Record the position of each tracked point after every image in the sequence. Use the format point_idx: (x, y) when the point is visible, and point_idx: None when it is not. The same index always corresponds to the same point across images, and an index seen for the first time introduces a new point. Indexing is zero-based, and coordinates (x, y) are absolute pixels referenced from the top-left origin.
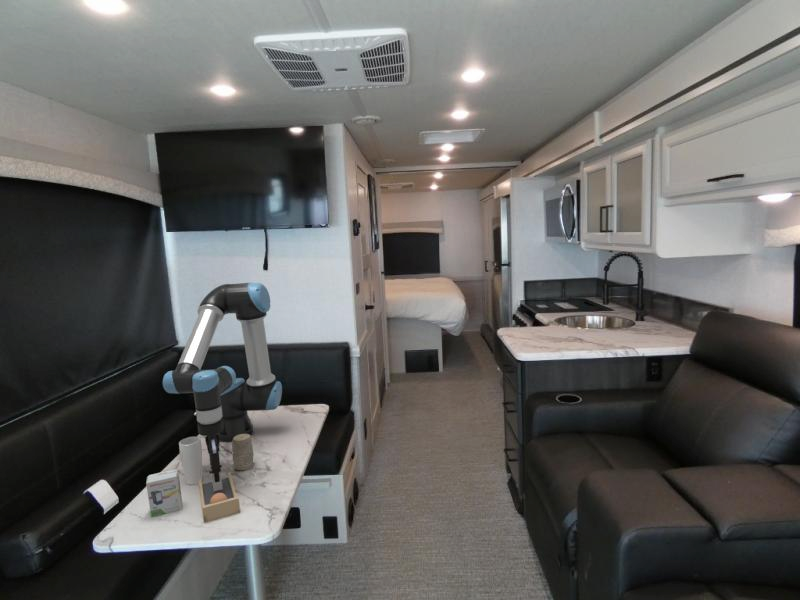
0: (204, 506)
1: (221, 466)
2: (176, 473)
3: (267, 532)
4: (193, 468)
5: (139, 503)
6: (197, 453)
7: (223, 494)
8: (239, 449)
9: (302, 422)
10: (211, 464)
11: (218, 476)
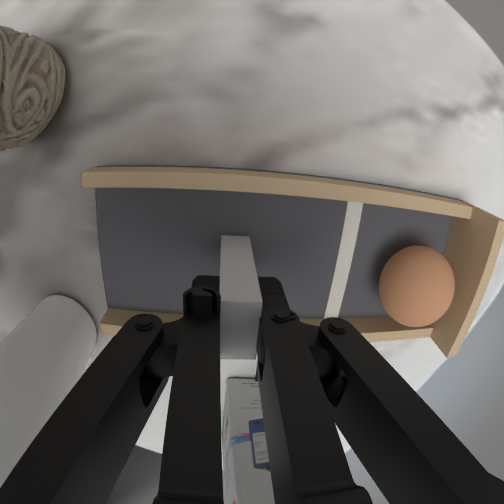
0: (453, 350)
1: (218, 296)
2: None
3: None
4: (70, 385)
5: (155, 445)
6: (27, 429)
7: (443, 279)
8: None
9: None
10: (346, 430)
11: (285, 303)
